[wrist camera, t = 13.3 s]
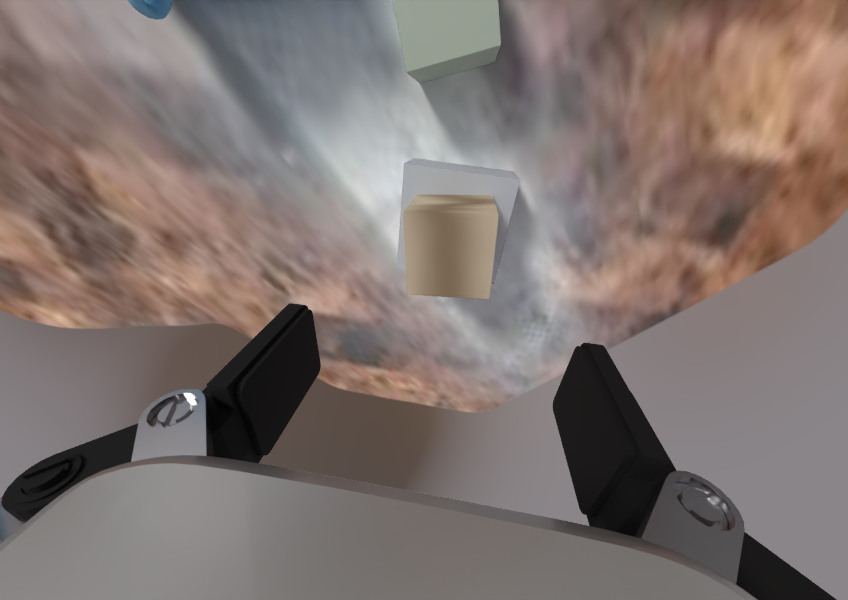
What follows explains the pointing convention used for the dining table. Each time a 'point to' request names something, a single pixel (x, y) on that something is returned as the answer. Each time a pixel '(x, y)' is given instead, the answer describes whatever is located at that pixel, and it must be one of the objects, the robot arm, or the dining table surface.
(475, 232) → the maple cube
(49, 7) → the dining table surface
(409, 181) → the base block
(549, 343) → the dining table surface
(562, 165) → the dining table surface
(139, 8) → the decorative pot
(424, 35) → the sage cube
